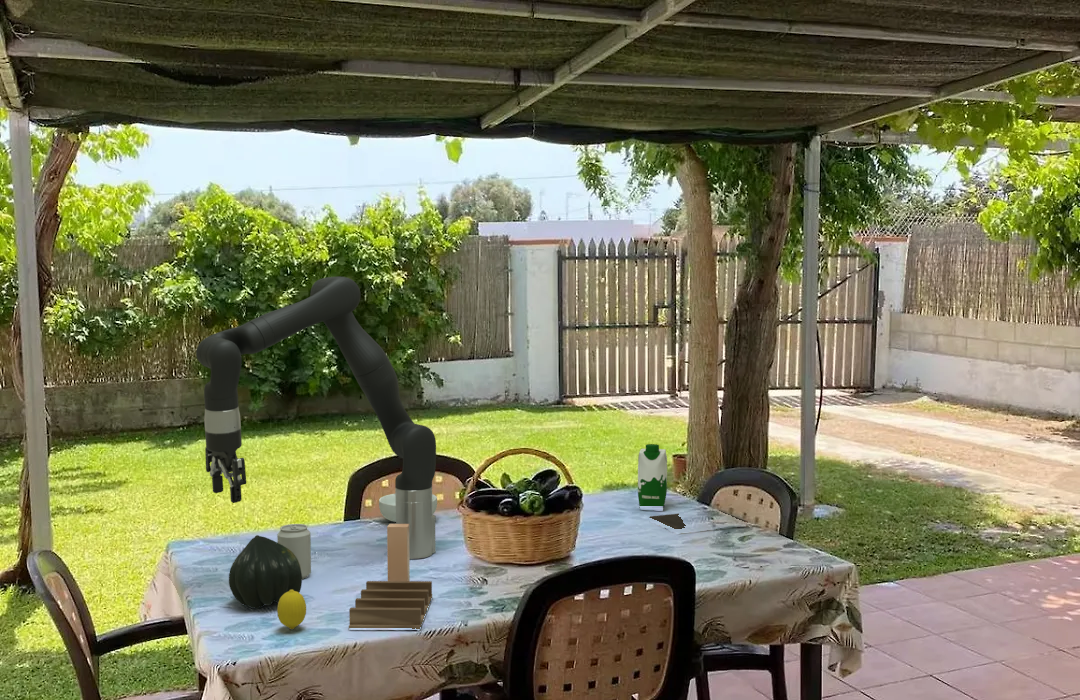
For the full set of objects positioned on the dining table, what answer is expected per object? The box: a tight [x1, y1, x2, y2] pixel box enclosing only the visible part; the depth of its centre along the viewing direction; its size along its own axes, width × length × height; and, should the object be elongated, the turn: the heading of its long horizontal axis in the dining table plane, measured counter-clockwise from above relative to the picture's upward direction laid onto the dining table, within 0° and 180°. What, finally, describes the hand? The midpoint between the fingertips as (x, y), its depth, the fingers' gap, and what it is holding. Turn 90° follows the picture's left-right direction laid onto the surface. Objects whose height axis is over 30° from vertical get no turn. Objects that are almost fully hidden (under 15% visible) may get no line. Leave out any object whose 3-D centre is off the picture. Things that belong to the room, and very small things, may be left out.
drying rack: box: [348, 580, 433, 629], centre depth 199 cm, size 20×14×4 cm
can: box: [276, 523, 312, 580], centre depth 224 cm, size 8×8×12 cm
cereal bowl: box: [378, 493, 438, 523], centre depth 277 cm, size 17×17×7 cm
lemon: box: [276, 590, 307, 630], centre depth 190 cm, size 6×6×8 cm
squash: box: [228, 534, 303, 609], centre depth 206 cm, size 14×15×15 cm
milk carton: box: [637, 443, 668, 507], centre depth 294 cm, size 9×9×20 cm
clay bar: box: [386, 523, 411, 581], centre depth 217 cm, size 3×4×14 cm, turn 89°
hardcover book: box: [648, 509, 749, 529], centre depth 275 cm, size 16×23×2 cm
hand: (227, 496), depth 215 cm, fingers open, 8 cm apart
